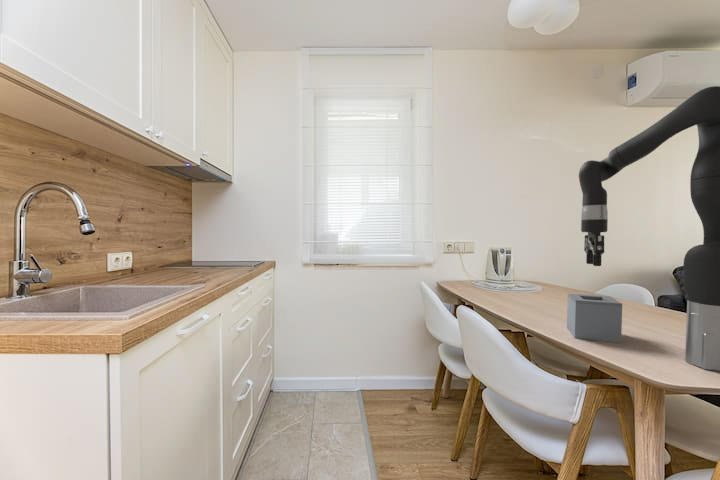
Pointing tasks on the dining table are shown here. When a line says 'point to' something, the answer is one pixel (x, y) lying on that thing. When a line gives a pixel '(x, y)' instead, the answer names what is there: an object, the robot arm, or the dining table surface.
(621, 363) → the dining table surface
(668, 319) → the dining table surface
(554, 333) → the dining table surface
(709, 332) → the robot arm
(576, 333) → the drop box
